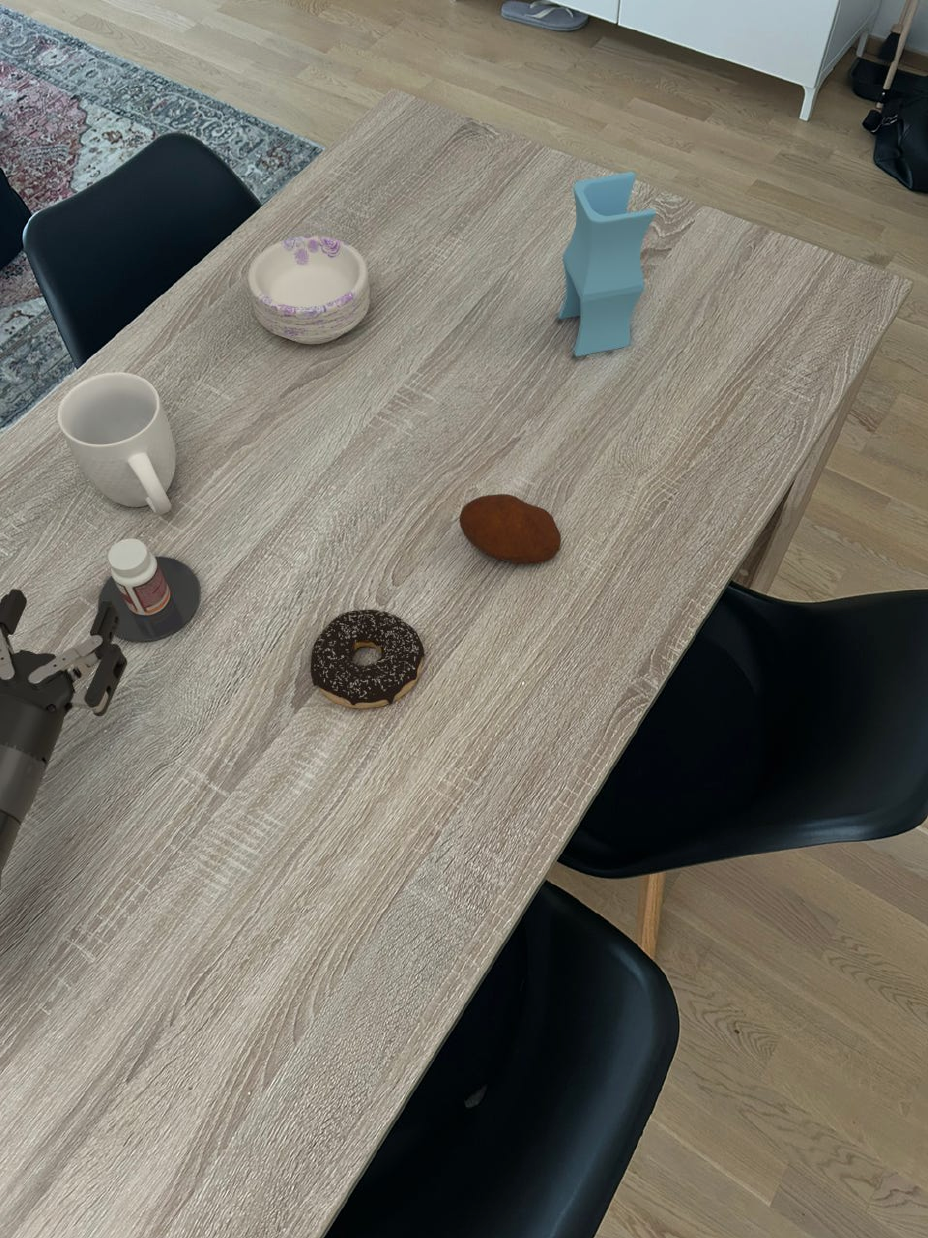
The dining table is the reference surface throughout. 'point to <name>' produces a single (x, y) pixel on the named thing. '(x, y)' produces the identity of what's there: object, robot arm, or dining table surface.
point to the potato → (510, 529)
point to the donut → (367, 681)
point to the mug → (121, 438)
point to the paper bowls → (309, 288)
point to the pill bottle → (138, 577)
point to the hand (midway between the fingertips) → (65, 599)
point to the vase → (604, 263)
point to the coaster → (167, 619)
